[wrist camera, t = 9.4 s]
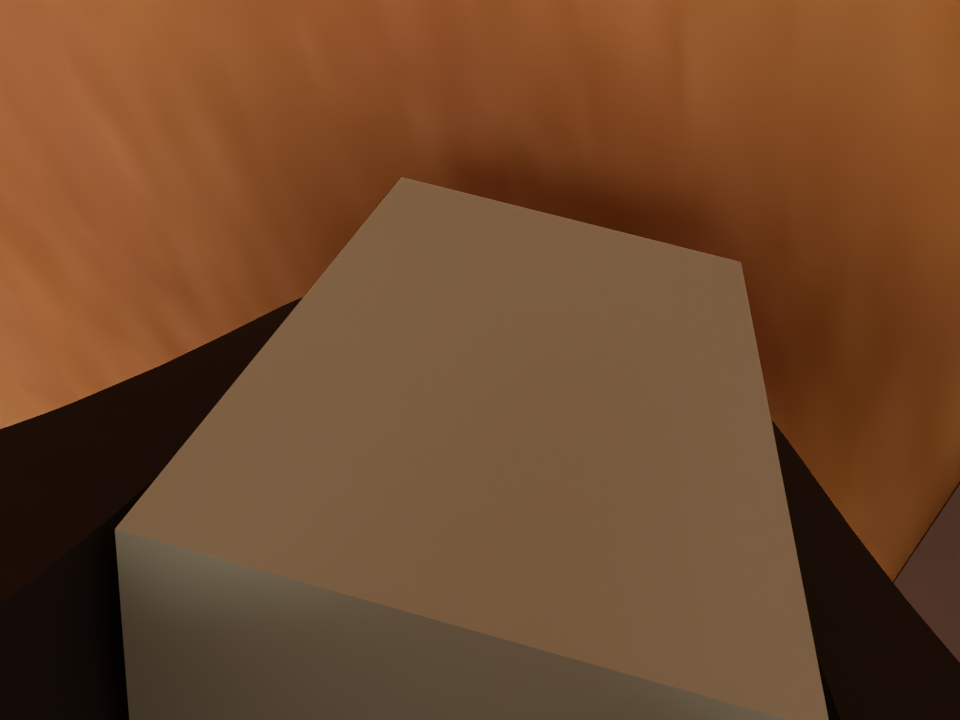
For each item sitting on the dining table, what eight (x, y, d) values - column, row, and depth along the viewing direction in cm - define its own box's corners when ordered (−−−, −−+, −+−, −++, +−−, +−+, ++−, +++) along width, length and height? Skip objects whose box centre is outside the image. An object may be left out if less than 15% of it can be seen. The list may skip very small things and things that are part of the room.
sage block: (639, 516, 12) (621, 1027, 7) (364, 441, 12) (141, 878, 7) (740, 261, 9) (830, 731, 4) (401, 176, 10) (115, 529, 5)
